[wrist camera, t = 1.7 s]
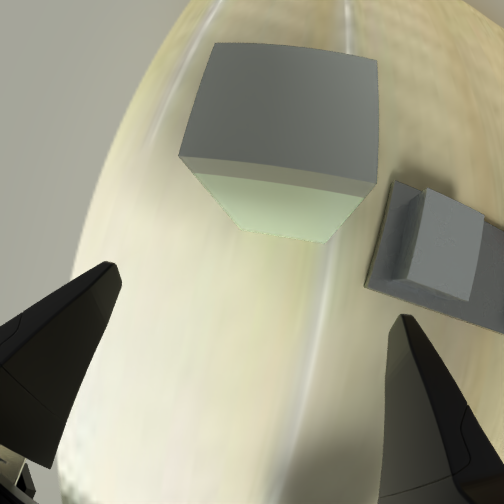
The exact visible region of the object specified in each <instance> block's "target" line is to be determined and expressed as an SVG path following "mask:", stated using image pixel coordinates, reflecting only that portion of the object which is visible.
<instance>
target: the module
mask: <svg viewBox="0 0 504 504" xmlns="http://www.w3.org/2000/svg"><path fill="white" fill-rule="evenodd" d="M378 142H379V96H378V70H377V60H373V59H368V58H364V57H359V56H354V55H349V54H344V53H339V52H333V51H326V50H320V49H313V48H305V47H296V46H286V45H274V44H257V43H215V44H214V47H213V50H212V52H211V55H210V58H209V61H208V63H207V66H206V69H205V72H204V75H203V77H202V80H201V83H200V86H199V89H198V92H197V95H196V98H195V101H194V105H193V108H192V111H191V114H190V117H189V121H188V124H187V127H186V131H185V134H184V137H183V141H182V144H181V148H180V152H179V155H178V156H179V158H180V159H181V160H182V161H183V162H184V163H185V165H186V166H187V167H188V168H189V169H190V171H191V172H192V173H193V174H194V175H195V176H196V178H197V179H198V180H199V181H200V182H201V184H202V185H203V186H204V187H205V188H206V189H207V191H208V192H209V193H210V194H211V195H212V197H213V198H214V199H215V200H216V201H217V202H218V204H219V205H220V206H221V207H222V208H223V210H224V211H225V212H226V213H227V214H228V215H229V217H230V218H231V219H232V220H233V221H234V223H235V224H236V225H237V226H238V227H239V228H240V230H243V231H249V232H256V233H262V234H268V235H274V236H280V237H286V238H292V239H298V240H304V241H310V242H316V243H322V244H325V243H326V242H327V241H328V240H329V238H330V237H331V236H332V235H333V234H334V233H335V232H336V231H337V229H338V228H339V227H340V226H341V225H342V224H343V223H344V221H345V220H346V219H347V218H348V217H349V216H350V215H351V213H352V212H353V211H354V210H355V209H356V208H357V206H358V205H359V204H360V203H361V202H362V201H363V199H364V198H365V197H366V196H367V195H368V194H369V192H370V191H371V190H372V189H373V188H374V186H375V185H376V184H377V169H378Z"/></svg>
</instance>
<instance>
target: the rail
mask: <svg viewBox="0 0 504 504" xmlns="http://www.w3.org/2000/svg"><path fill="white" fill-rule="evenodd" d="M484 216H485V215H483V214H481V213H480V212H478V211H476V210H474V209H472V208H470V207H468V206H466V205H464V204H462V203H460V202H458V201H456V200H453V199H451V198H449V197H447V196H445V195H443V194H441V193H438V192H436V191H434V190H432V189H430V188H426V189H424V190H423V191H420V190H417V189H415V188H413V187H410V186H408V185H405V184H403V183H400V182H398V181H394V182H393V183H392V184H391V187H390V191H389V196H388V200H387V205H386V209H385V213H384V217H383V221H382V225H381V229H380V233H379V237H378V241H377V244H376V248H375V251H374V255H373V259H372V262H371V265H370V269H369V272H368V275H367V279H366V282H365V285H364V288H367V289H370V290H373V291H376V292H379V293H382V294H385V295H388V296H391V297H394V298H397V299H400V300H403V301H406V302H409V303H412V304H415V305H417V306H420V307H423V308H426V309H429V310H432V311H435V312H438V313H441V314H444V315H447V316H450V317H453V318H456V319H459V320H461V321H464V322H467V323H470V324H473V325H476V326H479V327H482V328H485V329H488V330H491V331H494V332H497V333H499V334H502V335H504V231H502V230H500V229H498V228H496V227H495V226H493V225H491V224H489V223H487V222H485V221H484Z"/></svg>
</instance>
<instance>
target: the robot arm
mask: <svg viewBox="0 0 504 504" xmlns="http://www.w3.org/2000/svg"><path fill="white" fill-rule="evenodd" d="M121 287H122V280H121V277H120V274H119V271H118V268H117V265H116V264H115V263H112V262H108V261H104V262H102V263H100V264H99V265H97V266H95V267H94V268H92V269H90V270H88V271H87V272H85V273H83V274H82V275H80V276H78V277H77V278H75V279H74V280H72V281H70V282H69V283H67V284H66V285H64V286H62V287H61V288H59V289H58V290H56V291H54V292H53V293H51V294H49V295H48V296H46V297H45V298H43V299H42V300H40V301H39V302H37V303H35V304H34V305H32V306H31V307H29V308H28V309H26V310H25V311H24V312H23V313H20V314H19V315H17V316H16V317H14V318H13V319H11V320H10V321H8V322H6V323H5V324H3V325H2V326H0V504H38V503H37V502H35V501H34V500H33V497H34V495H35V492H36V490H35V487H34V484H33V481H32V478H31V475H30V472H29V468H28V465H27V463H25V461H26V459H29V460H31V461H33V462H35V463H37V464H39V465H41V466H43V467H46V468H48V469H51V467H52V464H53V461H54V458H55V455H56V452H57V448H58V445H59V442H60V440H61V437H62V434H63V431H64V428H65V425H66V422H67V419H68V417H69V414H70V411H71V409H72V406H73V403H74V401H75V398H76V396H77V393H78V391H79V388H80V386H81V383H82V381H83V379H84V376H85V374H86V371H87V369H88V367H89V364H90V362H91V360H92V358H93V355H94V353H95V351H96V349H97V346H98V344H99V342H100V340H101V338H102V336H103V333H104V331H105V329H106V327H107V324H108V322H109V319H110V317H111V314H112V311H113V308H114V306H115V303H116V300H117V298H118V295H119V292H120V290H121ZM378 504H504V464H503V462H502V460H501V459H500V457H499V455H498V454H497V452H496V451H495V449H494V447H493V446H492V444H491V443H490V441H489V439H488V438H487V436H486V435H485V433H484V431H483V430H482V428H481V426H480V425H479V423H478V421H477V419H476V417H475V416H474V414H473V412H472V410H471V408H470V407H469V405H467V401H466V400H465V398H464V396H463V394H462V393H461V391H460V389H459V387H458V386H457V384H456V382H455V381H454V379H453V377H452V376H451V374H450V372H449V371H448V369H447V367H446V366H445V364H444V362H443V361H442V359H441V358H440V356H439V354H438V353H437V351H436V350H435V348H434V347H433V345H432V343H431V342H430V340H429V339H428V337H427V336H426V334H425V333H424V331H423V330H422V328H421V327H420V325H419V324H418V322H417V321H416V319H415V318H414V317H413V316H412V315H407V314H400V315H399V316H398V318H397V319H396V321H395V323H394V324H393V326H392V328H391V329H390V332H389V336H388V350H387V363H386V375H385V422H384V444H383V459H382V470H381V481H380V489H379V499H378Z"/></svg>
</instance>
